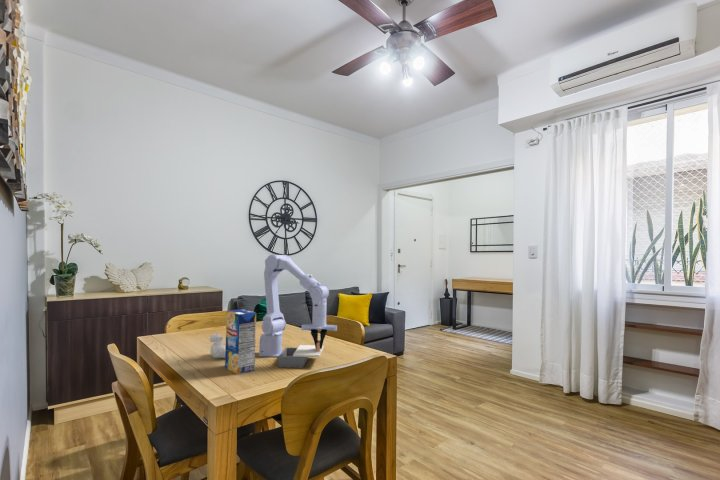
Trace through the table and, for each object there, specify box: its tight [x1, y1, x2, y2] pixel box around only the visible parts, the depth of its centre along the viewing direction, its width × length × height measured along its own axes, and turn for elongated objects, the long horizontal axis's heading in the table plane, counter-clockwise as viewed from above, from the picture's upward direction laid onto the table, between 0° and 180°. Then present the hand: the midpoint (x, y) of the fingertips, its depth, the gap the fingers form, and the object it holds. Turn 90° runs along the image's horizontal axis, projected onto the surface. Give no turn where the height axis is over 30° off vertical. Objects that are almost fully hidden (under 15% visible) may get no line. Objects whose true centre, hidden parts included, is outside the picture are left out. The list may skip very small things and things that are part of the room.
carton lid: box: [293, 339, 324, 358], centre depth 149 cm, size 10×14×4 cm
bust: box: [209, 333, 226, 359], centre depth 153 cm, size 12×8×11 cm
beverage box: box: [224, 308, 257, 375], centre depth 139 cm, size 7×11×22 cm, turn 44°
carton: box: [277, 346, 309, 369], centre depth 149 cm, size 10×14×4 cm
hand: (318, 347), depth 149 cm, fingers closed on carton lid
